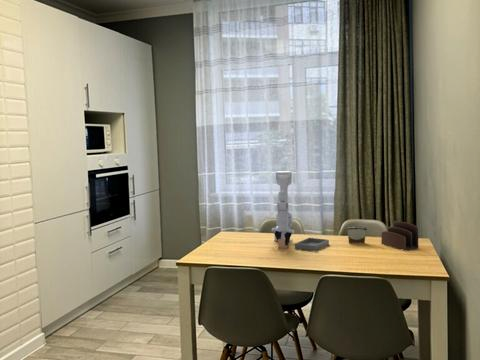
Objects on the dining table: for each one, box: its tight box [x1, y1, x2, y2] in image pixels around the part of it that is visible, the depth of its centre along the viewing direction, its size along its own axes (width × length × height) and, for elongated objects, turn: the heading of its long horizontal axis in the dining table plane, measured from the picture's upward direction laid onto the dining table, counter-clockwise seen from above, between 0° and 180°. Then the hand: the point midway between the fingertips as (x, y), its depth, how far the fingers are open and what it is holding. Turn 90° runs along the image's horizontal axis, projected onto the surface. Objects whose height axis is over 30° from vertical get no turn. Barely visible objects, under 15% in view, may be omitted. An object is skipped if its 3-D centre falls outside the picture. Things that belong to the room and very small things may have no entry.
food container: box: [345, 224, 368, 244], centre depth 272 cm, size 12×6×10 cm, turn 84°
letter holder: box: [380, 220, 419, 251], centre depth 259 cm, size 10×20×14 cm, turn 23°
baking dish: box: [294, 237, 330, 252], centre depth 263 cm, size 13×19×3 cm
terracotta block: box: [277, 238, 289, 249], centre depth 263 cm, size 4×4×5 cm
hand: (283, 244), depth 263 cm, fingers closed on terracotta block, 4 cm apart
